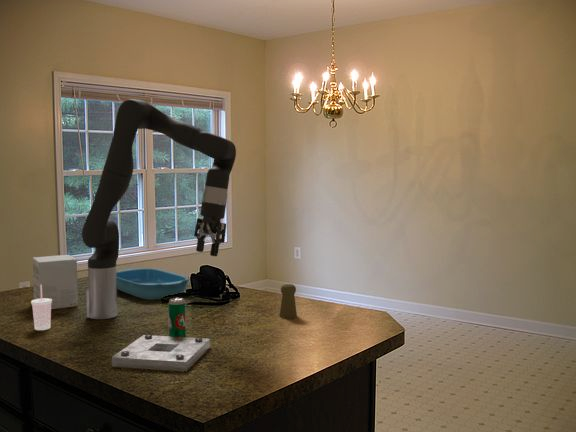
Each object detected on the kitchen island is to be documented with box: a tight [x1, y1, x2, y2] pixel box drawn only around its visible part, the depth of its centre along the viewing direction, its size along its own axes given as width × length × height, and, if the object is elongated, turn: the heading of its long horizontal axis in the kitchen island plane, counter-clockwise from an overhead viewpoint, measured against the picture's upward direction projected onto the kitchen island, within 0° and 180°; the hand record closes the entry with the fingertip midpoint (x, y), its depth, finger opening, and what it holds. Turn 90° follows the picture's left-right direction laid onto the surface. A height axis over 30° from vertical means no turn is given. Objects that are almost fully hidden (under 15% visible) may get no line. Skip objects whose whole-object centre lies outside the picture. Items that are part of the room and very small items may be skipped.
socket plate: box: [111, 334, 211, 372], centre depth 161 cm, size 20×20×3 cm
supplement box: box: [32, 254, 79, 310], centre depth 218 cm, size 13×13×18 cm
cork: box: [279, 283, 298, 319], centre depth 203 cm, size 6×6×11 cm
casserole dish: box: [116, 267, 189, 301], centre depth 240 cm, size 37×22×7 cm, turn 44°
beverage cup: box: [30, 285, 52, 331], centre depth 187 cm, size 6×6×14 cm
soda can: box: [167, 297, 187, 337], centre depth 176 cm, size 5×5×12 cm
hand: (206, 253), depth 184 cm, fingers open, 8 cm apart
